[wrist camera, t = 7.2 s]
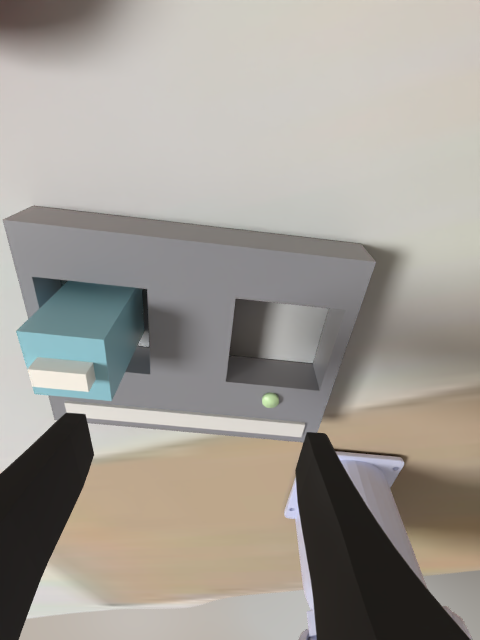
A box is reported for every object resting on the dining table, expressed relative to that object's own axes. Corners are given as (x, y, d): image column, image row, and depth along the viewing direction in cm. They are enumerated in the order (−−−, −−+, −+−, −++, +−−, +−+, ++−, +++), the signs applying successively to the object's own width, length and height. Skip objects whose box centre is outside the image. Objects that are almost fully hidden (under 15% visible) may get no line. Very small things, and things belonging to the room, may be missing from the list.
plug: (144, 330, 21) (105, 413, 16) (86, 324, 21) (25, 406, 15) (141, 278, 19) (96, 351, 14) (77, 271, 19) (4, 342, 13)
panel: (307, 414, 25) (314, 446, 22) (71, 392, 24) (52, 423, 22) (361, 243, 18) (378, 264, 16) (32, 205, 17) (-2, 221, 15)
